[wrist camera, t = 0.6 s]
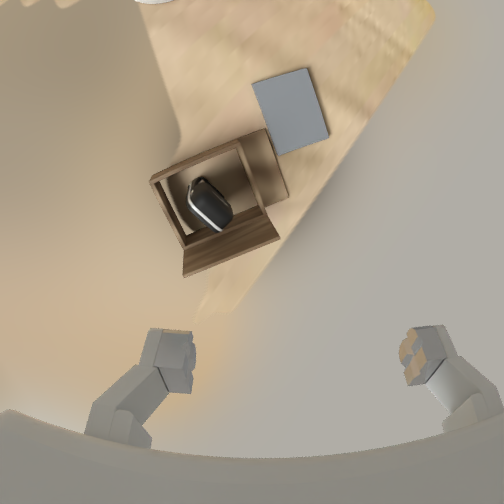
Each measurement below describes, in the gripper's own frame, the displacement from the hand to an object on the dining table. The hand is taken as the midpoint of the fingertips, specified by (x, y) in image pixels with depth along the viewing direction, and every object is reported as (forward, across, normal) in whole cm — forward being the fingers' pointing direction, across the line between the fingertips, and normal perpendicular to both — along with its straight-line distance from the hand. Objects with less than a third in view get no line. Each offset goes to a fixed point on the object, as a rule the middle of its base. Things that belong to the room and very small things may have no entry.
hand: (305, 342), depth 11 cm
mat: (+46, -4, +1) cm, 46 cm away
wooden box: (+42, +8, +14) cm, 45 cm away
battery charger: (+42, +10, +14) cm, 45 cm away
